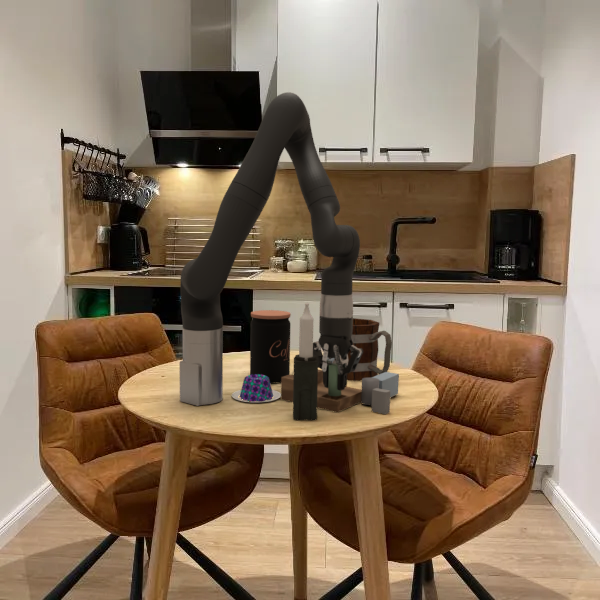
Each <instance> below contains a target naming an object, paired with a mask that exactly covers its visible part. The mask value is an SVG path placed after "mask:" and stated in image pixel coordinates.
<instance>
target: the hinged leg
mask: <svg viewBox="0 0 600 600" xmlns="http://www.w3.org/2000/svg"><path fill="white" fill-rule="evenodd" d="M399 377H400V374H399V373H395V372H390V371H387V372H384V373H382V374H377V376H374V377H372V378H363V379H362V381H361V390H362V393H361V402H360V403H361V404H363V405H366V406H372V390H373V389H375V388H379V389H385V390H390V398H392V397H394V396H396V395H398V394H399V381H400V380H399Z"/></svg>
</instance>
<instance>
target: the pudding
mask: <svg viewBox="0 0 600 600" xmlns="http://www.w3.org/2000/svg"><path fill="white" fill-rule="evenodd" d="M271 384H272V383H270V380H269V378H268V377H267V376H265V375H259V374H255V375H250V374H249V375H246V376H245V377H244V379H243V382H242V385H241V389H239V390H236V391H234V392H232V393H231V398H233V399H234V400H236V401H241V402H245V403H255V402H257V403H267V402H273V401H276V400H279V398H280V399H281V391H277V390H275V389H272V386H271ZM239 395H240V396H239ZM238 396H239V398H238ZM242 399H243V400H242ZM249 401H251V402H249Z"/></svg>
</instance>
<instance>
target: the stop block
mask: <svg viewBox="0 0 600 600" xmlns="http://www.w3.org/2000/svg"><path fill="white" fill-rule="evenodd" d="M372 411H373V413H376V412H378V413H377V414H381V413H382V415H388V414H389V413H390V411H391V397H390V390H385V389H379V388H375V389H373V390H372V405H371V412H372Z"/></svg>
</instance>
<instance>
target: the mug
mask: <svg viewBox="0 0 600 600" xmlns="http://www.w3.org/2000/svg"><path fill="white" fill-rule="evenodd" d="M379 328H380V322H379V321H375V320H374V319H367V318H357V317H356V318H355V317H353V331H352V337H351V338H352V341H353V345H354V346H355V347H357V348H358V349H360V348H362V349H363V354H362V356H361V358H360V360H359V363H358V365H357V367H356V369H355V371H353V372H350V373H348V374H347V381H351V382H359V381H360V380H362V379H363V378H372V377H374V376H377V375H379V374H382V373H384V372H389V369H390V366H391V352H392V345H393V341H392V337H391V334H390V333H389V332H387V331H386V330H381V331H379ZM382 336H384V339H385V348H384V353H383V354H384V359H383V367H382V369H381V368H380V367H378V356H379V339H380V337H382ZM350 353H351V350H350V351H349V353H348V362H349V360H350V358H351V355H350ZM341 360H342V359H341ZM333 363H336V359H334V361H333Z"/></svg>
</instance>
